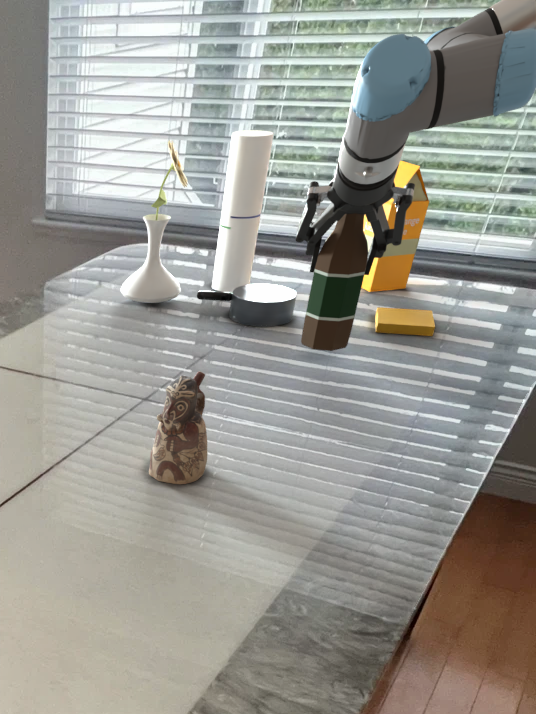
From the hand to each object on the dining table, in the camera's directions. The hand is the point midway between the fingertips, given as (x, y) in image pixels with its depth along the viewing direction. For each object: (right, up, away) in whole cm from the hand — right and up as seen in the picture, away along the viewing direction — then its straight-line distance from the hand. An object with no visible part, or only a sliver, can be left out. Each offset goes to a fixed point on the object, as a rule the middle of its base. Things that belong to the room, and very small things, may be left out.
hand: (340, 265), depth 130 cm
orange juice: (+21, +14, +33) cm, 42 cm away
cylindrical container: (-7, +14, +35) cm, 38 cm away
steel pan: (-9, +3, +22) cm, 24 cm away
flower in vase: (-24, +10, +31) cm, 40 cm away
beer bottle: (-1, -10, +5) cm, 11 cm away
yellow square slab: (+17, -2, +15) cm, 23 cm away
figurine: (-30, -39, -23) cm, 54 cm away
